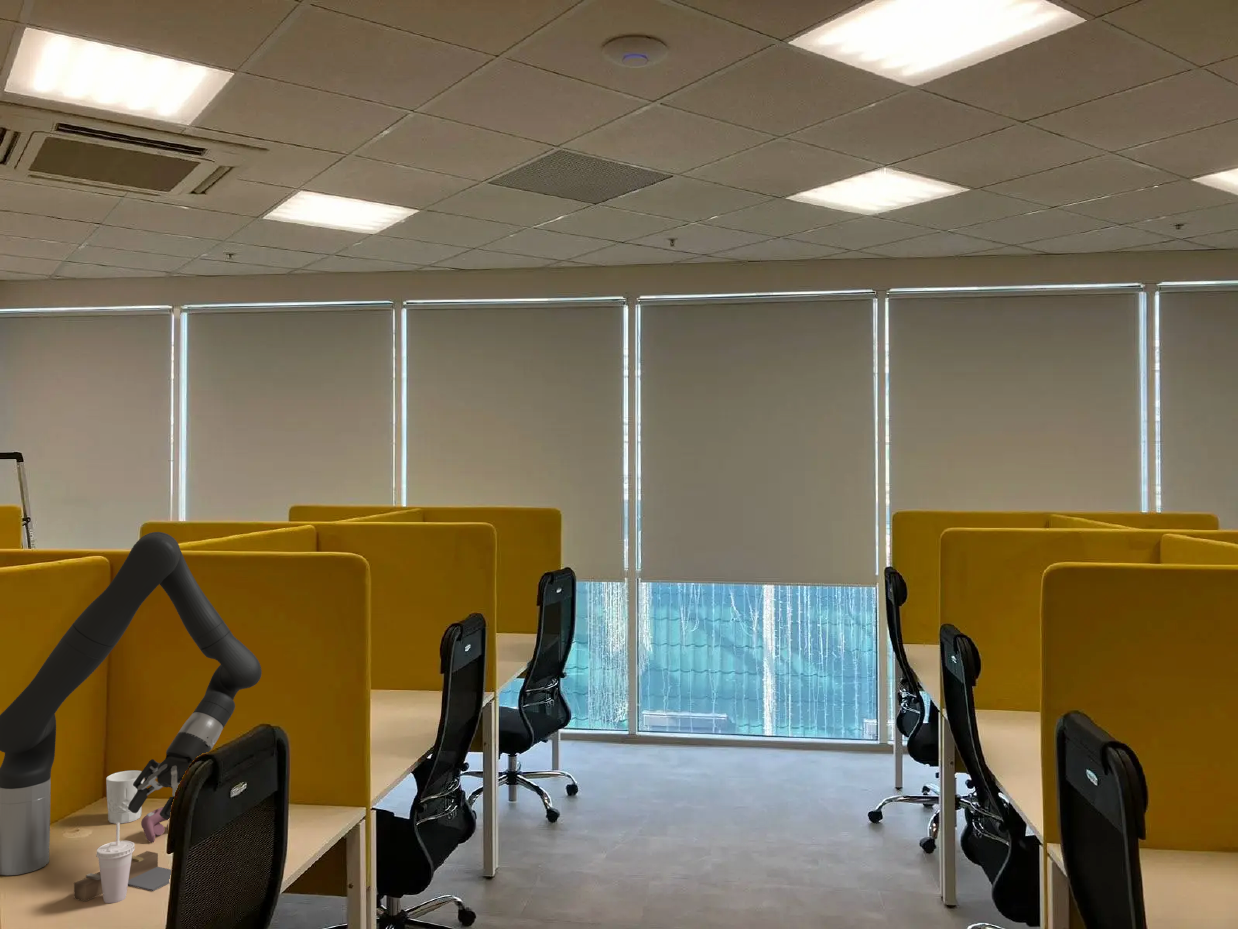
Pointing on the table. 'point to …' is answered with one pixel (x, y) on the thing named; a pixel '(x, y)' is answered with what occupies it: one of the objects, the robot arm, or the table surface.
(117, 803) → the white cup
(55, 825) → the table surface
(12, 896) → the table surface
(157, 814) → the video game controller
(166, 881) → the end pad
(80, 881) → the guide rail
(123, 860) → the smoothie
